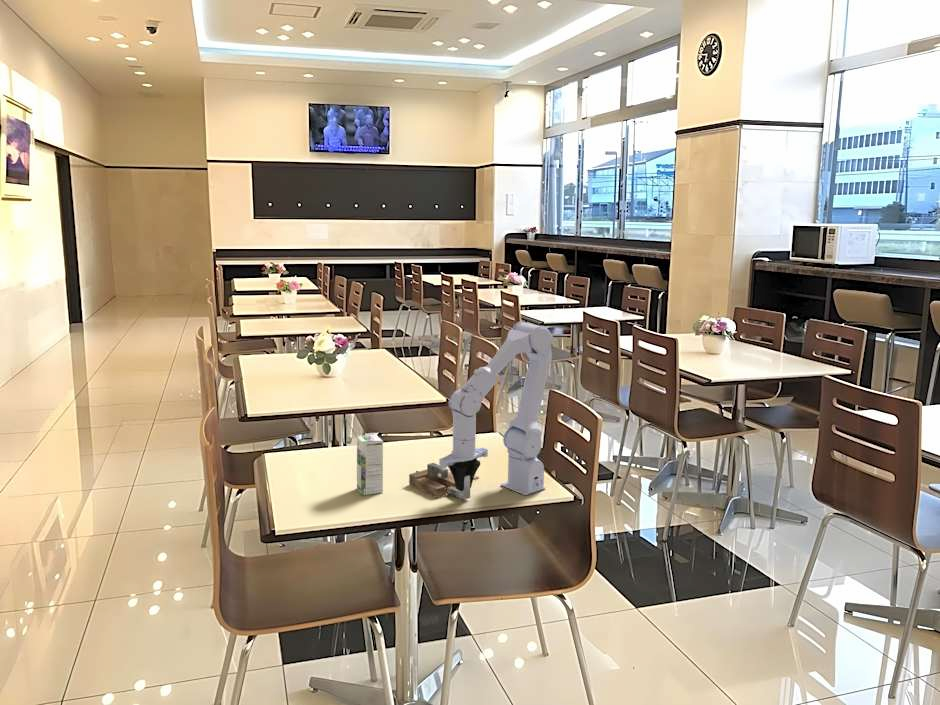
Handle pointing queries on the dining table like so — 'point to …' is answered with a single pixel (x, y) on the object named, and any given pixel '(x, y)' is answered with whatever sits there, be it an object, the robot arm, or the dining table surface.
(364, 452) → the drink carton
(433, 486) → the vise
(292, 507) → the dining table surface
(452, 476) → the cork mat
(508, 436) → the robot arm
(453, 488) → the grey l-shaped block
